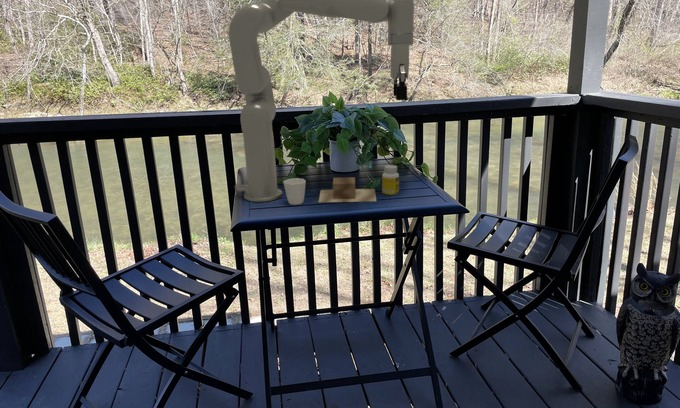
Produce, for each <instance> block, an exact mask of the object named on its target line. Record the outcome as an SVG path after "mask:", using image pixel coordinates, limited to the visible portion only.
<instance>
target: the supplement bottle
mask: <svg viewBox="0 0 680 408" xmlns="http://www.w3.org/2000/svg"><path fill="white" fill-rule="evenodd" d="M381 180H382V181H381V183H382V185H381V187H382V188H381V192H382V194H383V195H386V196H397V195H399V194H400V175H399V173H398V166H397V165H394V164H388V165H387V164H386V165H385V166H384V172H383V173H382V179H381Z"/></svg>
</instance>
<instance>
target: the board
mask: <svg viewBox="0 0 680 408" xmlns="http://www.w3.org/2000/svg"><path fill="white" fill-rule="evenodd" d="M354 202H355V203H356V202H357V203H362V202H377V196H376V189H375V188H355V199H333V189H321V190H320V193H319V198H318V203H354Z"/></svg>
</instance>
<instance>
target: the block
mask: <svg viewBox="0 0 680 408" xmlns="http://www.w3.org/2000/svg"><path fill="white" fill-rule="evenodd" d="M332 180H333V181H332V190H333V199H355V189H356V177H352V176H351V177H349V176H346V177H333V179H332Z"/></svg>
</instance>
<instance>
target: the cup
mask: <svg viewBox="0 0 680 408" xmlns="http://www.w3.org/2000/svg"><path fill="white" fill-rule="evenodd" d="M306 182H307V181H306V179H304V178H299V177H296V178H295V177H293V178H287V179H285V180H283V187H284V191H285V195H286V199H287V202H288V204H289V205H291V206H292V205H293V206H296V205H302V204H303V203H304V200H305V193H306V185H307V183H306Z"/></svg>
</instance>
